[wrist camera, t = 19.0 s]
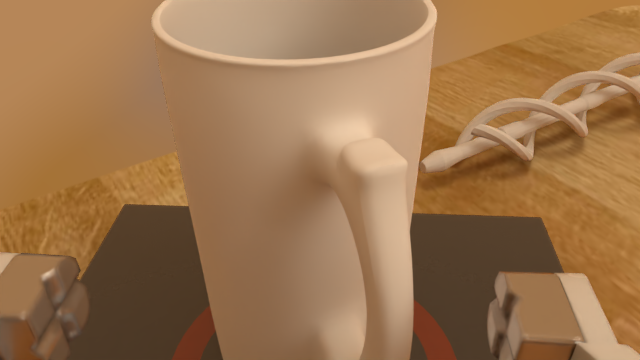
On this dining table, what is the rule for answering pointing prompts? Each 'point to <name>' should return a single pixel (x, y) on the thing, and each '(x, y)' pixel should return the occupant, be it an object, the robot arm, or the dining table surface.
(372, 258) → the mug
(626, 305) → the dining table surface
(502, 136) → the sculpture
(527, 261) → the hob
